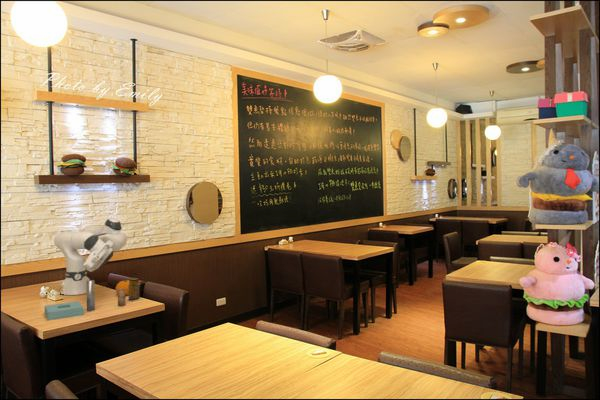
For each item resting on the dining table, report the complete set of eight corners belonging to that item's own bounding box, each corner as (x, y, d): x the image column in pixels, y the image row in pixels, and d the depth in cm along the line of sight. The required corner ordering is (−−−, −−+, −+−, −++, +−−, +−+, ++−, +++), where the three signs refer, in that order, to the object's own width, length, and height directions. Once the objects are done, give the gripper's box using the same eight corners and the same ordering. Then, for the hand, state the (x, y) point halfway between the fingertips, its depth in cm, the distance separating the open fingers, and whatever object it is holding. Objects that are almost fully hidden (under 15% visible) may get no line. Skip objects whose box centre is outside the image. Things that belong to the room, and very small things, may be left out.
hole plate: (44, 313, 233) (44, 305, 233) (78, 308, 243) (77, 301, 243) (48, 320, 220) (48, 312, 220) (83, 314, 230) (83, 307, 230)
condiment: (137, 296, 269) (137, 277, 269) (142, 299, 262) (142, 279, 262) (125, 298, 264) (125, 278, 264) (130, 301, 258) (130, 281, 258)
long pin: (86, 309, 240) (85, 280, 239) (94, 308, 242) (93, 279, 242) (87, 311, 236) (87, 281, 236) (95, 310, 239) (95, 280, 238)
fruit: (111, 296, 271) (111, 279, 271) (124, 291, 282) (124, 276, 282) (127, 297, 268) (126, 281, 267) (139, 293, 279) (139, 277, 278)
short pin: (117, 305, 249) (116, 289, 249) (124, 304, 251) (124, 288, 251) (118, 306, 246) (118, 290, 246) (126, 305, 248) (126, 289, 248)
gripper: (112, 249, 270) (118, 241, 261) (89, 274, 257) (95, 267, 247) (103, 242, 269) (110, 234, 259) (80, 267, 255) (85, 260, 246)
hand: (102, 251), depth 253 cm, fingers open, 8 cm apart
